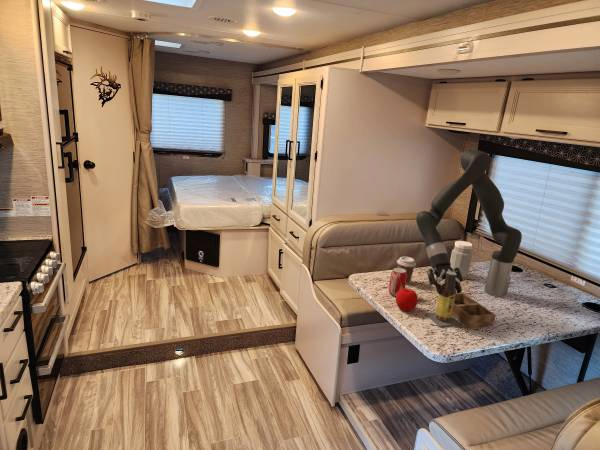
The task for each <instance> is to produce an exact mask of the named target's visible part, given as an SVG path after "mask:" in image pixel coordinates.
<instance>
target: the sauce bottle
mask: <svg viewBox="0 0 600 450" xmlns="http://www.w3.org/2000/svg"><path fill="white" fill-rule="evenodd" d="M456 276H457V274H456V273H455V272H452V271H447V272H446V278H445V279H444V282H443V283H442V284H441V287H442V290H443V294H442V295H439V294H438V297H437V302H436V306H435V307H436V309H435V317H436V318H437V319H439V320H441V321H449V320H450V319H451V316H452V311H453V306H454V301H455V296H456V293H457V292H456V289H455V279H456Z"/></svg>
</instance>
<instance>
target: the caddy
mask: <svg viewBox="0 0 600 450" xmlns="http://www.w3.org/2000/svg"><path fill="white" fill-rule="evenodd" d="M452 316H453V317H454V318H455V319H456V320H458V321H459V322H460V323H461V325H463V326H464V327H465V328H466V329H480V328H488V327H494V325H495V320H496V316H497V315H496V314H495V313H494V312H492V311H491V310H489V309H487V308H486V307H485V306H483V305H482V304H481V303H479V302H477V300H475V299H473V298H472V297H470V296H469V295H467V294H466V293H464V292H461V293H457V292H456V296H455V301H454V306H453V311H452Z"/></svg>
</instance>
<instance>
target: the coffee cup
mask: <svg viewBox="0 0 600 450" xmlns="http://www.w3.org/2000/svg"><path fill="white" fill-rule="evenodd" d="M396 264H397V268H403V269H405V270H406V273H407V279H406V285H410V284H411V280H412V277H413V272H414V269H415V267H416V265H417V263H416V262H415V259H414V258H413V257H410V256H400V257H399V258H398V259H397V260H396Z"/></svg>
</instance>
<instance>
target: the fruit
mask: <svg viewBox="0 0 600 450" xmlns="http://www.w3.org/2000/svg"><path fill="white" fill-rule="evenodd" d="M395 303H396V306H397V307H398V309H400V310H402V311H404V312H405V311H406V312H410V311H413V310H414V309H415V308H416V307H417V306H418V303H419V297H418V294H417V292H415V290H413V289H410V288H408V287H407V286H405V289H401V290H400V291H399V292H398V293H397V295H396V296H395Z"/></svg>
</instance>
